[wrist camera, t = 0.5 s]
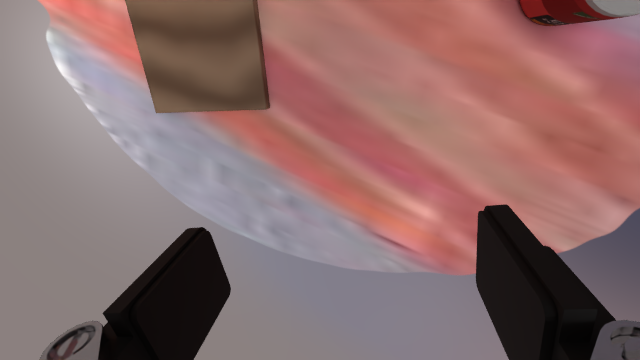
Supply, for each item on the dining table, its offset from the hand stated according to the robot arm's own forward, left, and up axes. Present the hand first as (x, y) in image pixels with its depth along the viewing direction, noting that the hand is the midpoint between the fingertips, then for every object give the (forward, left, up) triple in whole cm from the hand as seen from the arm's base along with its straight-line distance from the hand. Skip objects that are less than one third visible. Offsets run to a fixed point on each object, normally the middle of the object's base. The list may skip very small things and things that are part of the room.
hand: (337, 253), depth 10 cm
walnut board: (-10, -20, -31) cm, 38 cm away
